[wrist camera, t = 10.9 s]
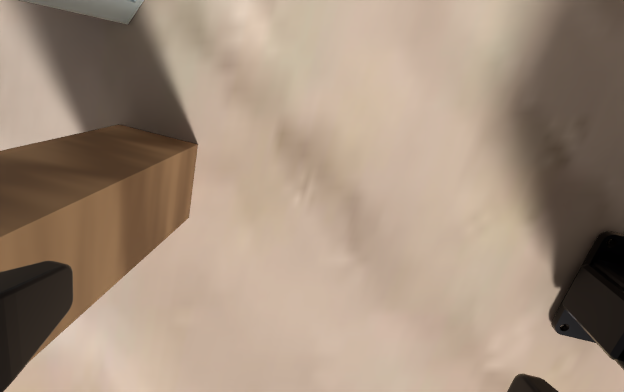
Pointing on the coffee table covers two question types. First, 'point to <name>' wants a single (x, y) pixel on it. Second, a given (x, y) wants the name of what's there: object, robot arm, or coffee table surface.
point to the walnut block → (92, 205)
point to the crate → (96, 8)
